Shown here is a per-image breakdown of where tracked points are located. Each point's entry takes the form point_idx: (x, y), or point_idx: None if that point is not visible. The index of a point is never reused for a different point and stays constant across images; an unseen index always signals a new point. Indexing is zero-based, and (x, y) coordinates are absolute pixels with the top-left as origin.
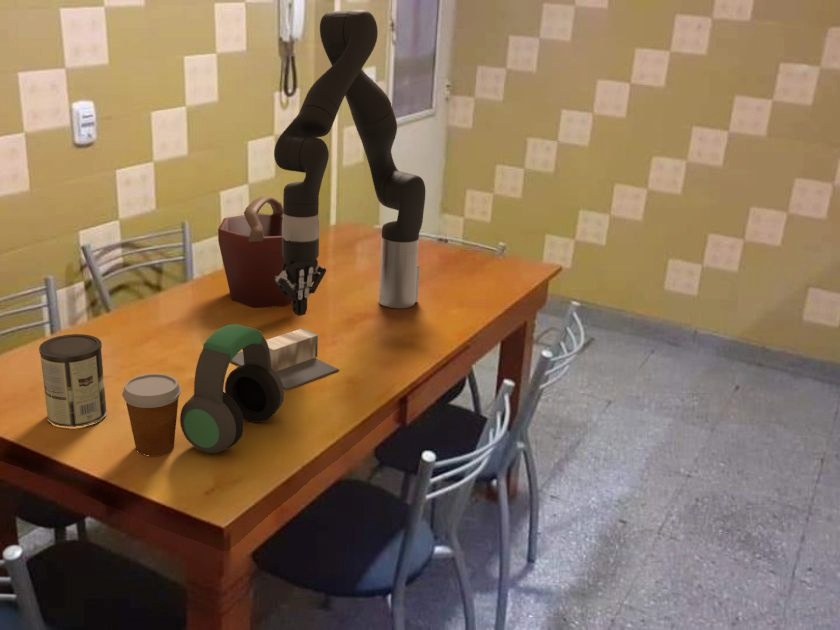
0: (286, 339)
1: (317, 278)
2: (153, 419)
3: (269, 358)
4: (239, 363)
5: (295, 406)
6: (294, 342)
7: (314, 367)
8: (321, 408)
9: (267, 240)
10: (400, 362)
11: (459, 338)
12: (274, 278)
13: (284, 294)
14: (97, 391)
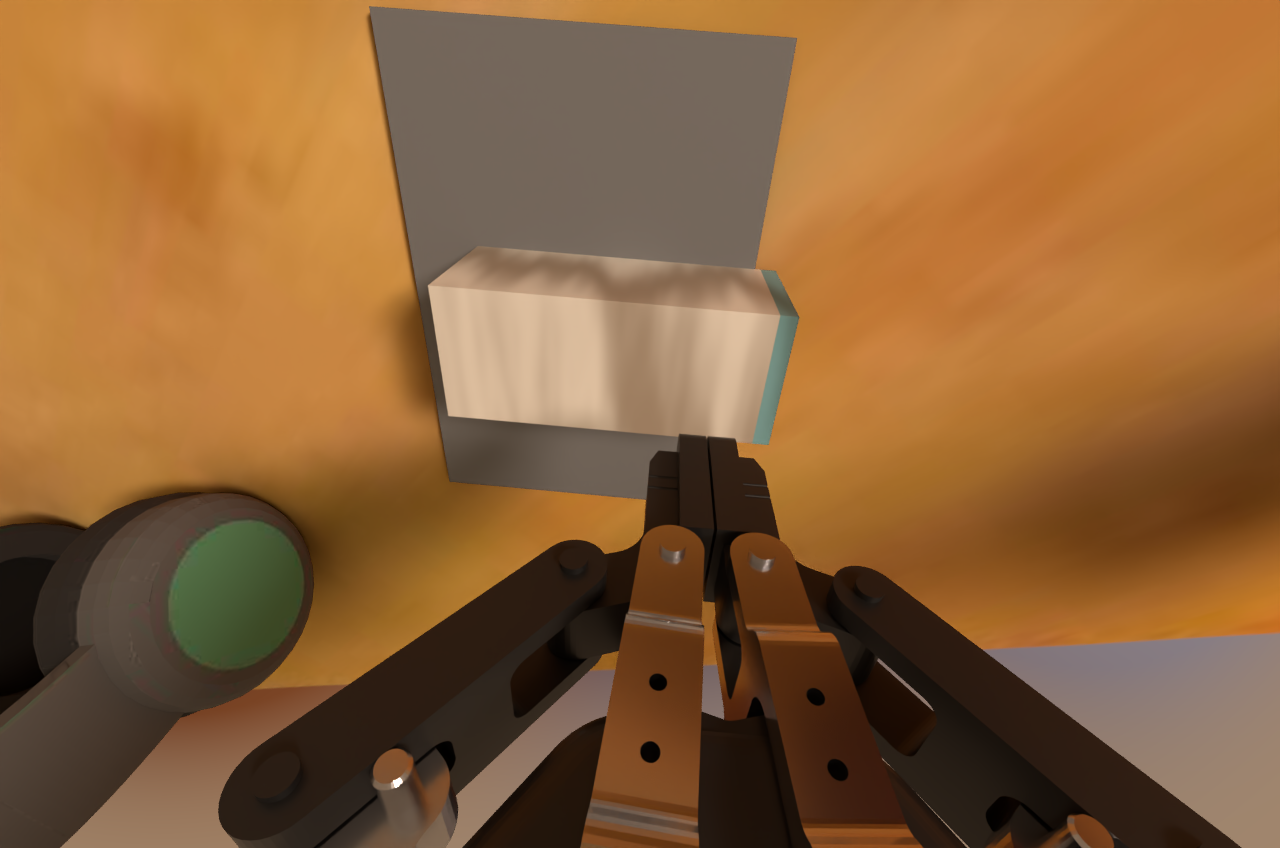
0: (596, 368)
1: (943, 815)
2: None
3: (127, 773)
4: (402, 159)
5: (414, 552)
6: (600, 425)
7: (655, 440)
8: (472, 600)
9: None
10: (917, 592)
11: (1270, 623)
12: (229, 816)
13: (538, 563)
14: None
